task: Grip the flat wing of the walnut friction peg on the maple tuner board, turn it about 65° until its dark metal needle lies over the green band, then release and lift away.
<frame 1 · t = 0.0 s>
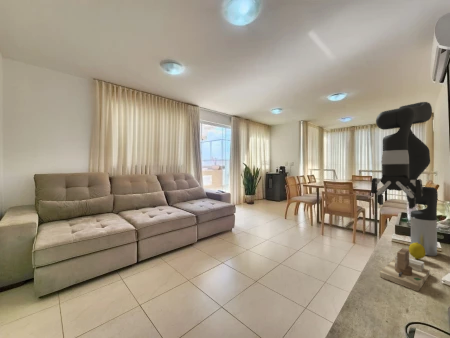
hand: (395, 206, 71), 29 cm above the countertop, tool pointing down, fingers open, 8 cm apart
tuner board: (404, 275, 77), on the countertop
friction peg: (402, 262, 75), point 6 cm above the countertop, hinge at 0.0°
lemon: (417, 259, 89), on the countertop
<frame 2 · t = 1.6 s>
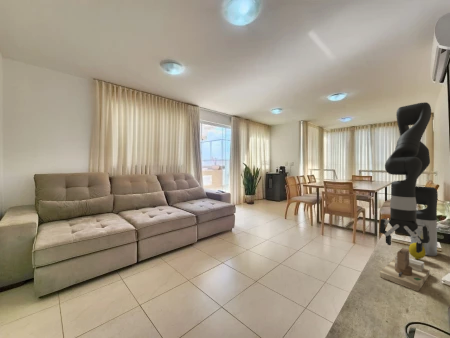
hand: (403, 248, 75), 12 cm above the countertop, tool pointing down, fingers open, 8 cm apart
nothing on the countertop moved.
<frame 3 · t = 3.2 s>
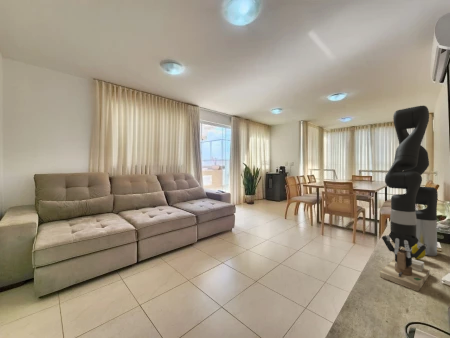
hand: (403, 264, 75), 5 cm above the countertop, tool pointing down, fingers closed on friction peg, 2 cm apart
friction peg: (402, 262, 75), point 6 cm above the countertop, hinge at 0.0°, touching gripper
everything else where it was.
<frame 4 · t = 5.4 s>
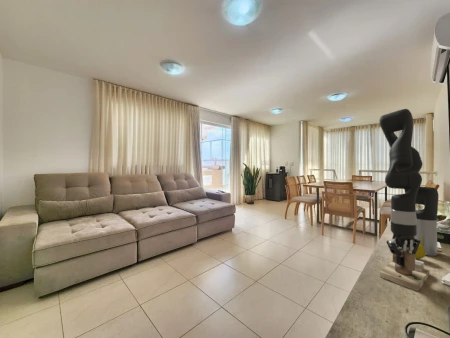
hand: (403, 264, 75), 5 cm above the countertop, tool pointing down, fingers closed on friction peg, 2 cm apart
friction peg: (405, 262, 75), point 6 cm above the countertop, hinge at 58.6°, touching gripper
everything else where it was.
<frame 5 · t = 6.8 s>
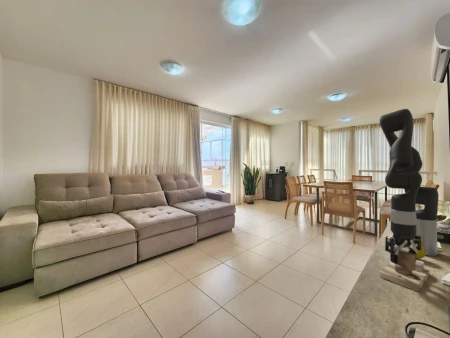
hand: (403, 261, 75), 6 cm above the countertop, tool pointing down, fingers open, 8 cm apart
friction peg: (405, 262, 75), point 6 cm above the countertop, hinge at 64.8°
everything else where it was.
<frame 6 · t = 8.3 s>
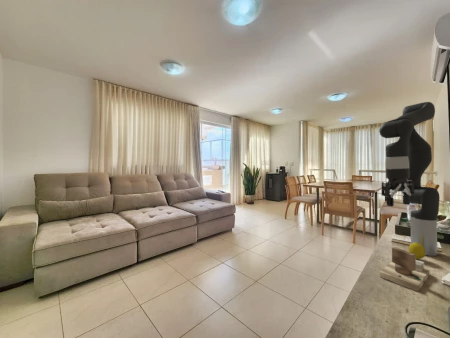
hand: (398, 205, 81), 27 cm above the countertop, tool pointing down, fingers open, 8 cm apart
friction peg: (405, 262, 75), point 6 cm above the countertop, hinge at 66.1°
everything else where it was.
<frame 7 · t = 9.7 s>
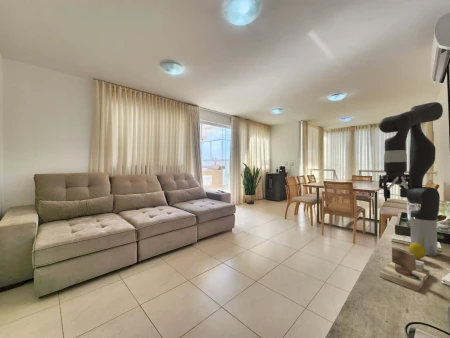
hand: (395, 197, 84), 30 cm above the countertop, tool pointing down, fingers open, 8 cm apart
nothing on the countertop moved.
at the end: friction peg at +66° (first picture: +0°); the gripper is holding nothing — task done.
